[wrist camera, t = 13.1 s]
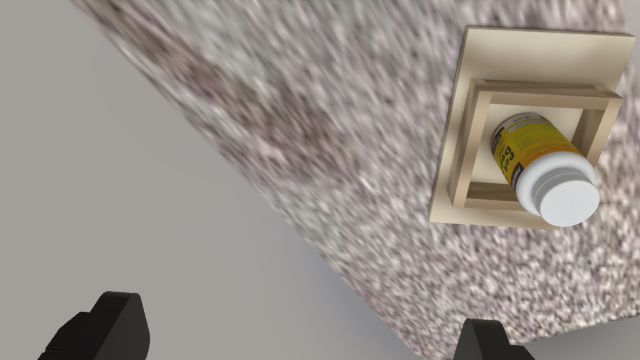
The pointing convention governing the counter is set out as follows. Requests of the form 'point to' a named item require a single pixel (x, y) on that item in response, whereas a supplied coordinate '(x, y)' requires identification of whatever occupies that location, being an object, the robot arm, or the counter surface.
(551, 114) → the cup caddy
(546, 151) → the supplement bottle
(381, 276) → the counter surface
